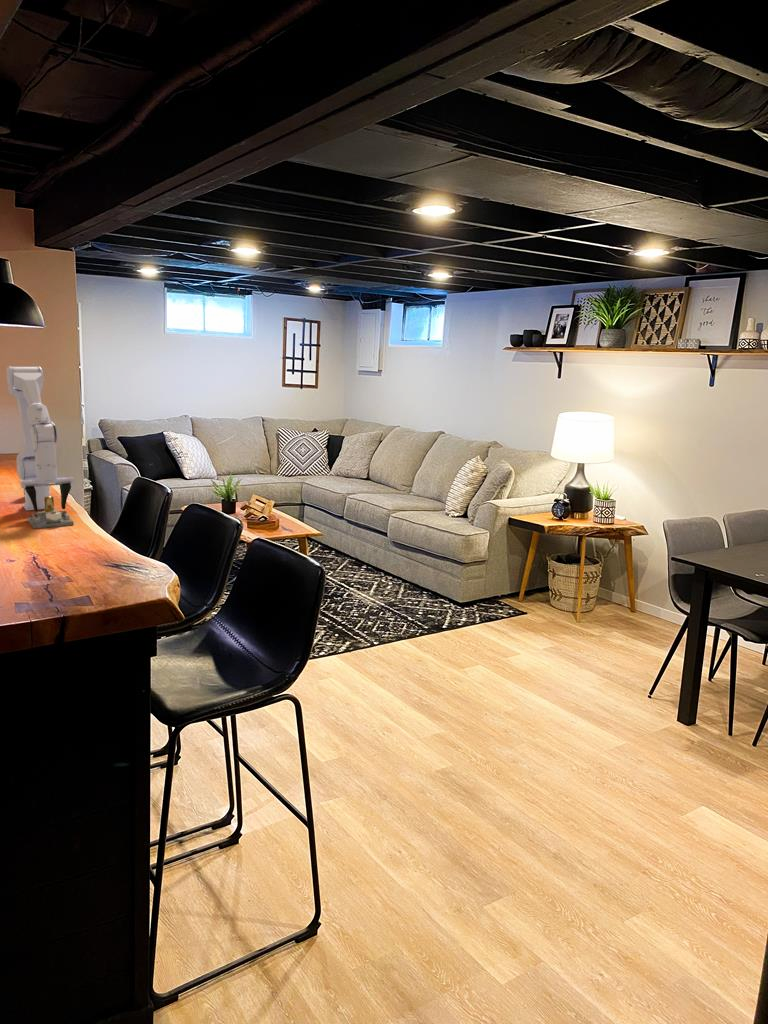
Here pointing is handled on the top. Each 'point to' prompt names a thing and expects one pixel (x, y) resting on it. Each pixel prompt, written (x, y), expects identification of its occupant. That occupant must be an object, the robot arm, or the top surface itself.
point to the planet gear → (49, 503)
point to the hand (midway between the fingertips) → (49, 509)
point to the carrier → (50, 519)
